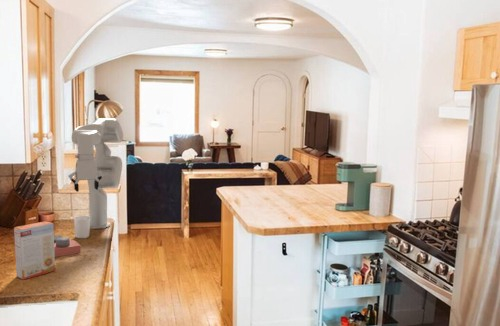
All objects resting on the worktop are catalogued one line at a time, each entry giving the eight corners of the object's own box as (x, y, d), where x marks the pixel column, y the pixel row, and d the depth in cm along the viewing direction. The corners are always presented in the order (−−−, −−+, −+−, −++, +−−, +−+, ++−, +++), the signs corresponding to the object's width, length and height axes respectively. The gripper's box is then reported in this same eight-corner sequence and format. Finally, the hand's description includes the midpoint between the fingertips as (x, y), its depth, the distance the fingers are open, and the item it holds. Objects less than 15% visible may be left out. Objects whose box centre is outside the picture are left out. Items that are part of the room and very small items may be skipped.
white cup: (80, 239, 245) (79, 220, 244) (71, 236, 250) (70, 217, 248) (93, 236, 251) (93, 217, 250) (84, 233, 256) (84, 215, 255)
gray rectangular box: (49, 246, 233) (49, 236, 233) (59, 244, 237) (59, 234, 236) (53, 250, 228) (53, 240, 227) (64, 248, 231) (64, 238, 230)
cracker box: (48, 267, 205) (47, 220, 202) (55, 271, 201) (54, 222, 198) (15, 276, 194) (13, 226, 191) (22, 280, 190) (20, 229, 188)
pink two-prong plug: (39, 247, 230) (39, 234, 229) (69, 243, 239) (69, 230, 238) (49, 257, 217) (49, 243, 216) (80, 252, 226) (80, 239, 225)
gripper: (70, 159, 232) (71, 193, 235) (105, 156, 242) (106, 189, 245) (66, 156, 238) (67, 190, 241) (100, 154, 248) (101, 186, 251)
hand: (86, 190), depth 243 cm, fingers open, 9 cm apart
